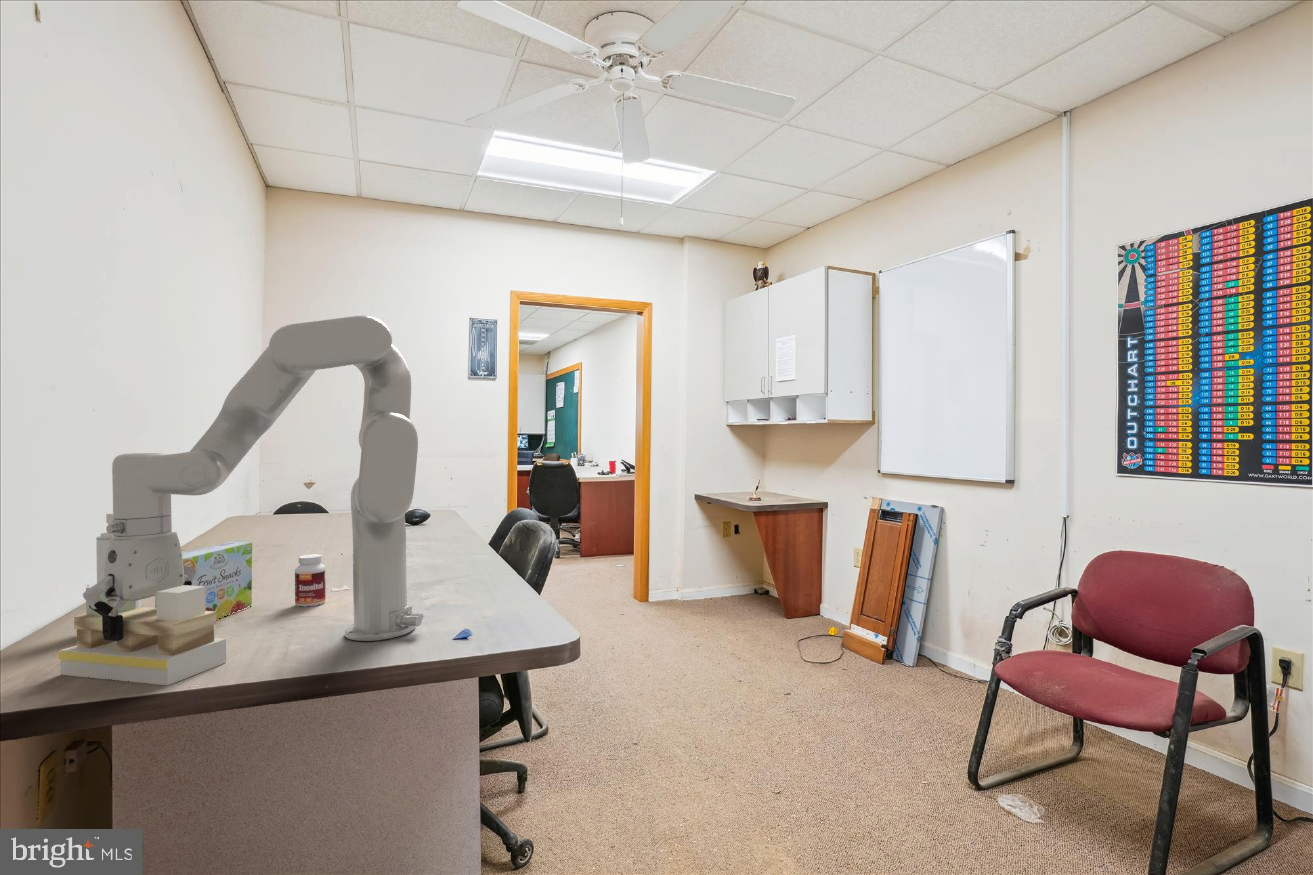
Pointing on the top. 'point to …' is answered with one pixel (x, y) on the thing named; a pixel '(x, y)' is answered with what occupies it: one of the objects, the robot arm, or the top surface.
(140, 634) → the pallet
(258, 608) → the top surface
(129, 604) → the block
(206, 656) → the block
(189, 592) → the block
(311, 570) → the pill bottle
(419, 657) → the top surface
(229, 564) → the snack box
